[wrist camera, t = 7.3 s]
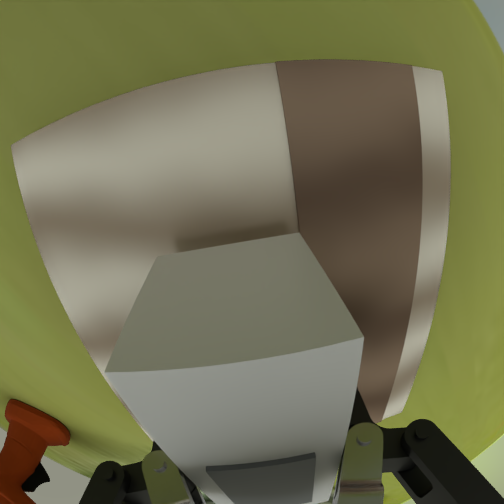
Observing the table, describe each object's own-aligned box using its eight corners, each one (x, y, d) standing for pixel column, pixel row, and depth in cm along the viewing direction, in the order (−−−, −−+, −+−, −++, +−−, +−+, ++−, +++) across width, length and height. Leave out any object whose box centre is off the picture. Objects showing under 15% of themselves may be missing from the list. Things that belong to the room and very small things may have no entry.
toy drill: (174, 482, 21) (149, 597, 7) (20, 410, 20) (-32, 499, 6) (180, 468, 19) (151, 603, 5) (8, 385, 18) (-55, 483, 4)
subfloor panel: (25, 142, 10) (8, 145, 9) (427, 73, 10) (444, 70, 9) (165, 443, 20) (164, 455, 18) (396, 402, 20) (402, 413, 19)
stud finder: (157, 256, 10) (101, 379, 5) (299, 232, 10) (368, 343, 5) (225, 435, 15) (229, 517, 9) (308, 422, 15) (328, 503, 10)
